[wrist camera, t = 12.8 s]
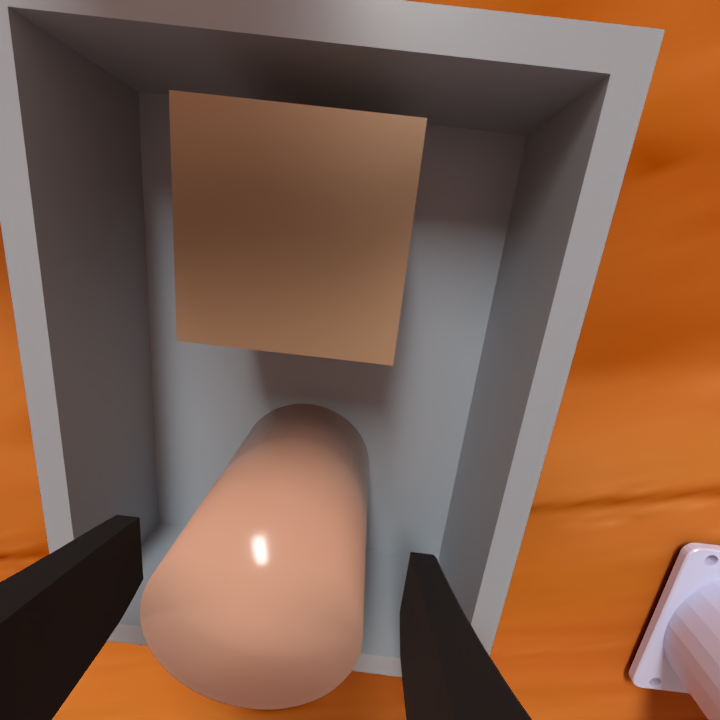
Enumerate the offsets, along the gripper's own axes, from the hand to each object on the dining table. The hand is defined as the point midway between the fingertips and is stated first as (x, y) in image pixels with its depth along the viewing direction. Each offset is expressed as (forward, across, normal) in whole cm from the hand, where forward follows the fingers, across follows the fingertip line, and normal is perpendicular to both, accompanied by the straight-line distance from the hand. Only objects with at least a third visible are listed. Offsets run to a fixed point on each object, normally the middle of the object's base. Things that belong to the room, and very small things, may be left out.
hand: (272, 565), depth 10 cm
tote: (+6, 0, -4) cm, 7 cm away
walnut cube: (+5, 0, -8) cm, 10 cm away
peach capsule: (+5, 0, 0) cm, 5 cm away
